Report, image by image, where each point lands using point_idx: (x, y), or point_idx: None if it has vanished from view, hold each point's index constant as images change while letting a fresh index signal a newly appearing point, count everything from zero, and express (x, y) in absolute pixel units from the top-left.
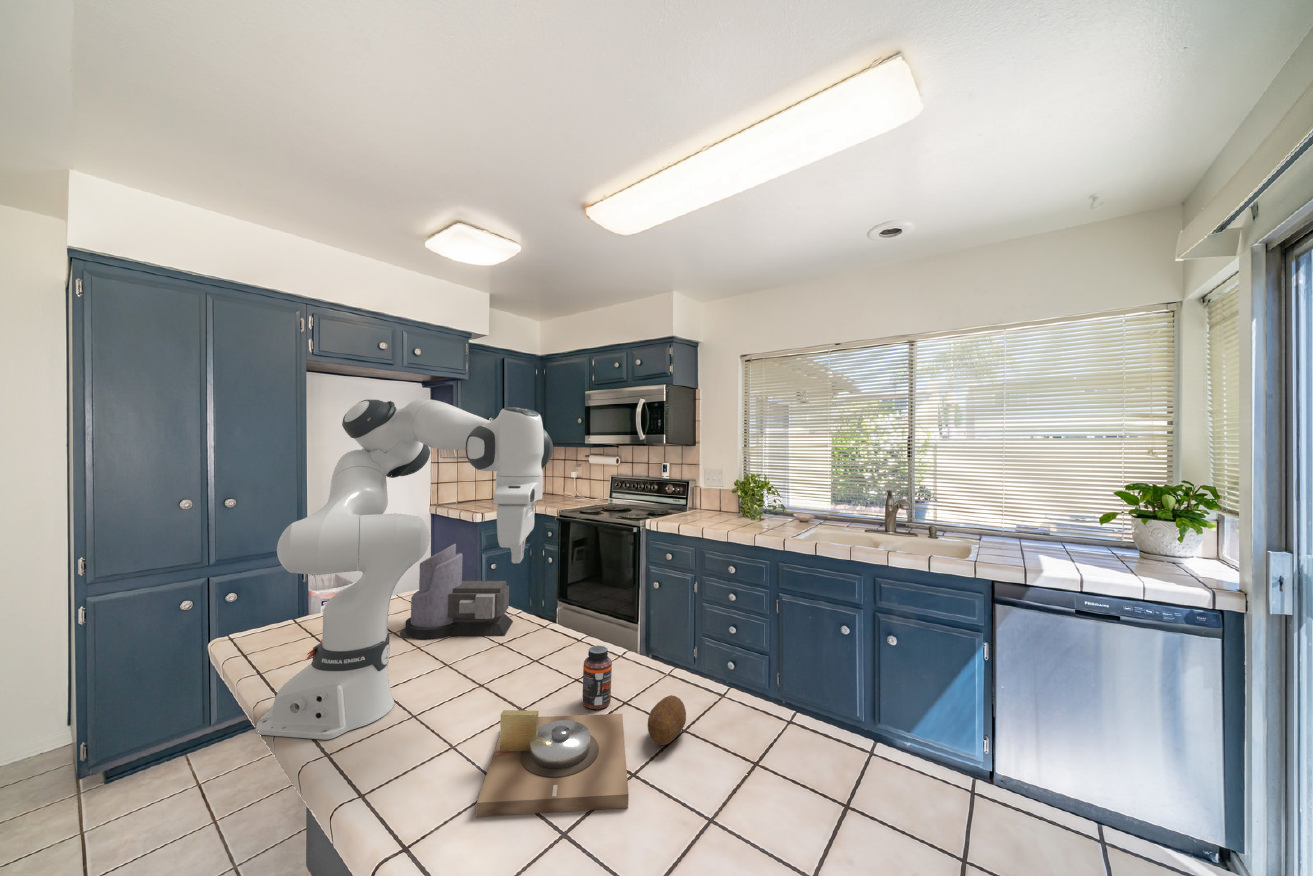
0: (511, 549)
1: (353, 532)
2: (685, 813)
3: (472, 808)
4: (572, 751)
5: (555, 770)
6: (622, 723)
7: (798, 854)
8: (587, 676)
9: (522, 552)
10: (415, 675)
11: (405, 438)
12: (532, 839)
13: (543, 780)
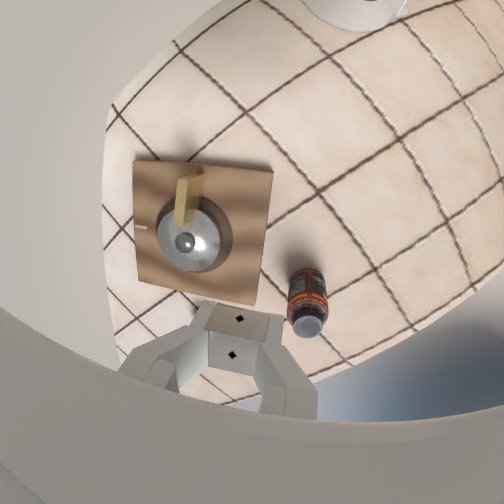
0: (156, 342)
1: None
2: (140, 307)
3: (148, 154)
4: (162, 250)
5: None
6: (234, 302)
7: (120, 342)
8: (296, 293)
9: (234, 371)
10: (438, 57)
11: None
12: (118, 206)
13: (153, 217)
